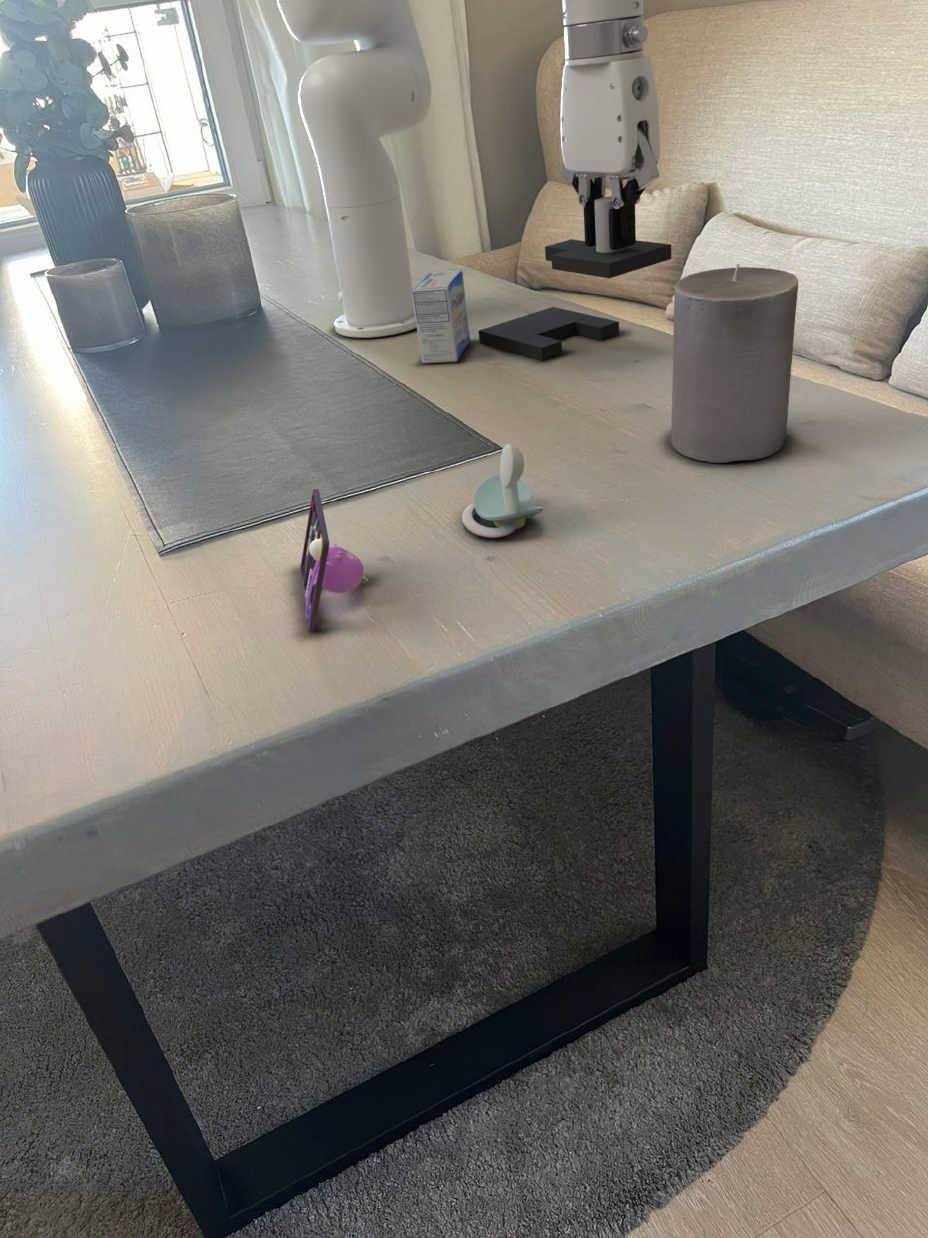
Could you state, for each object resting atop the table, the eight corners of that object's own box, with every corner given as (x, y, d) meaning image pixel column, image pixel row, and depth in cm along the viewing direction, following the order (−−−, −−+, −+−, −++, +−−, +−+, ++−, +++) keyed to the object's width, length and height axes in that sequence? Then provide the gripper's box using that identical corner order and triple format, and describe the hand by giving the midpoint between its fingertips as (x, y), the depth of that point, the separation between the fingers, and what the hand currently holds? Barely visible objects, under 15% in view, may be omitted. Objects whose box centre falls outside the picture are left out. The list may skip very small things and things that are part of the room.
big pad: (479, 342, 115) (478, 330, 114) (553, 318, 121) (553, 306, 120) (542, 360, 107) (541, 347, 106) (619, 333, 112) (619, 321, 111)
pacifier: (476, 551, 71) (551, 533, 72) (465, 476, 67) (544, 457, 68) (454, 512, 77) (523, 495, 78) (442, 441, 73) (515, 424, 74)
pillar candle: (710, 414, 88) (717, 246, 80) (807, 434, 82) (824, 255, 74) (648, 449, 83) (648, 274, 75) (746, 474, 77) (758, 285, 68)
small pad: (528, 265, 105) (523, 202, 101) (588, 247, 109) (585, 187, 105) (609, 278, 95) (607, 210, 92) (671, 258, 99) (671, 192, 96)
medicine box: (457, 363, 109) (449, 286, 105) (420, 364, 110) (410, 288, 106) (470, 342, 116) (463, 269, 111) (435, 343, 117) (427, 271, 112)
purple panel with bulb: (302, 486, 67) (312, 541, 60) (373, 495, 69) (391, 550, 61) (290, 568, 71) (297, 630, 63) (358, 575, 72) (373, 637, 65)
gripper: (696, 32, 86) (693, 244, 95) (576, 44, 97) (584, 232, 107) (637, 42, 82) (640, 261, 92) (519, 53, 94) (533, 246, 104)
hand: (610, 243), depth 99 cm, fingers closed on small pad, 3 cm apart
